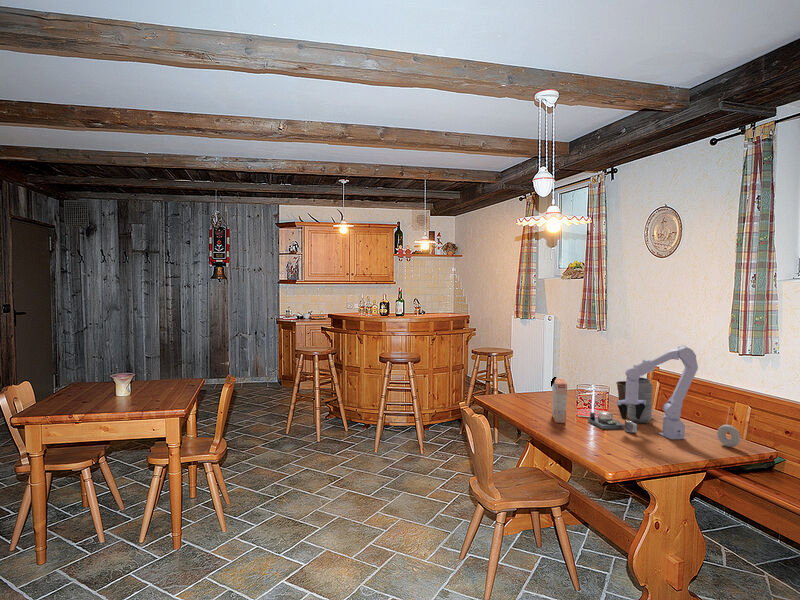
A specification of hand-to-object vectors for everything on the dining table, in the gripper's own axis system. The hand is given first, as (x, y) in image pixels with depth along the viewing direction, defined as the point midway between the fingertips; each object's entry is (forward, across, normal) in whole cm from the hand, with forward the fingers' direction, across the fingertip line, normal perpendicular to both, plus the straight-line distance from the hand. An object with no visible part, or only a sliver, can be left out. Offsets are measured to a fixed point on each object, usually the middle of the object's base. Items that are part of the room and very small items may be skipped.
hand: (630, 419), depth 248 cm
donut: (+6, -32, +25) cm, 41 cm away
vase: (+7, -16, -17) cm, 24 cm away
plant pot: (+7, -24, -37) cm, 45 cm away
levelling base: (+6, +6, -12) cm, 15 cm away
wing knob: (+6, 0, 0) cm, 7 cm away
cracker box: (+7, +26, -24) cm, 36 cm away
